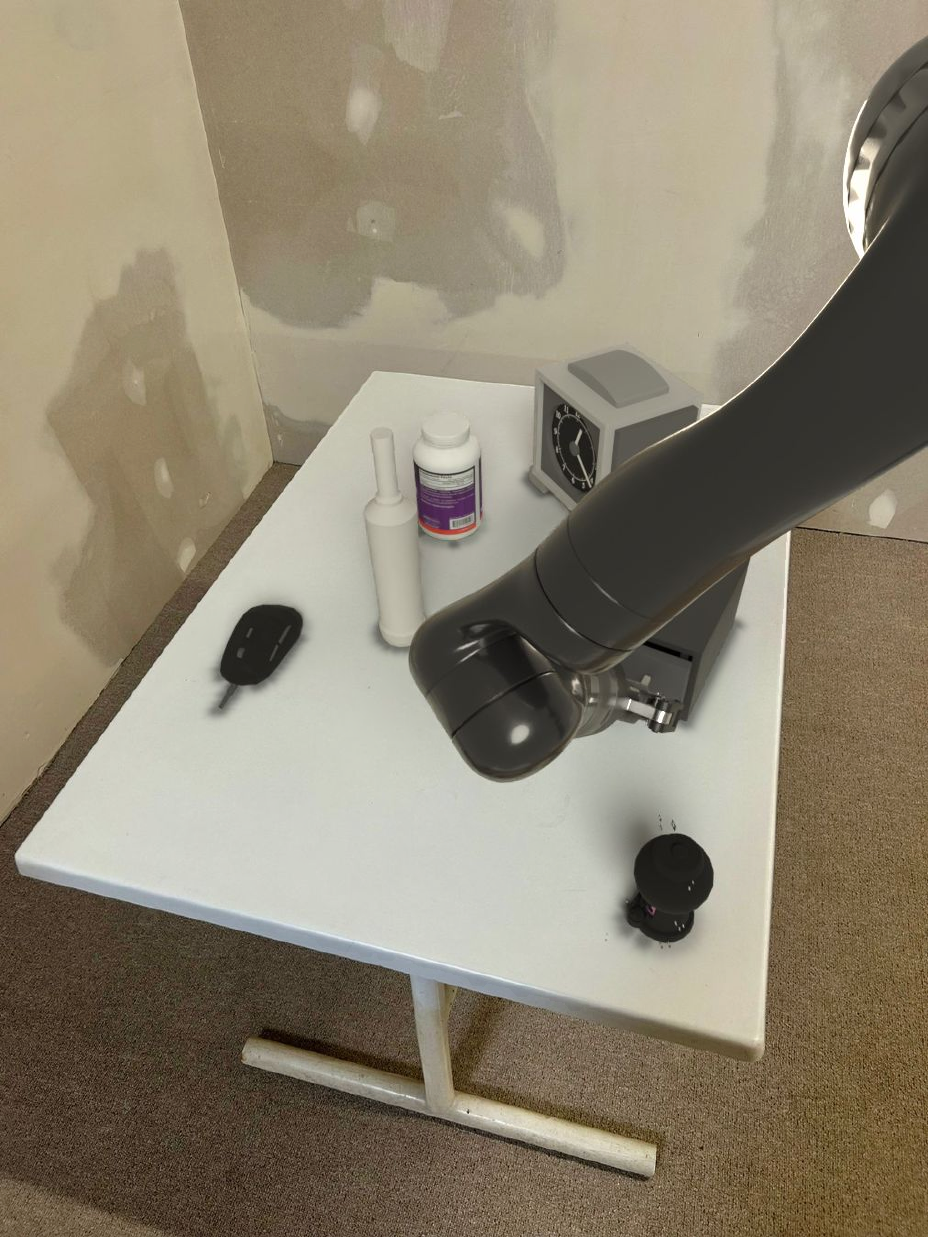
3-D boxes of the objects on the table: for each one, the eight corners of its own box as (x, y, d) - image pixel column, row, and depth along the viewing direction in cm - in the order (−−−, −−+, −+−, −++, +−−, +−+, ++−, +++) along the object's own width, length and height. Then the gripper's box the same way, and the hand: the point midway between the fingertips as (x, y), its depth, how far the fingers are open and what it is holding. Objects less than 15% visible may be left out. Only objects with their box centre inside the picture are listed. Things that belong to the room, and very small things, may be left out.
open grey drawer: (660, 758, 80) (671, 703, 75) (548, 714, 84) (551, 659, 79) (722, 631, 92) (735, 576, 86) (621, 598, 96) (628, 543, 91)
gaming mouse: (193, 701, 88) (184, 675, 85) (263, 607, 98) (256, 580, 95) (248, 716, 87) (239, 689, 84) (313, 618, 97) (307, 591, 94)
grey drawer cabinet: (686, 721, 84) (702, 653, 78) (568, 677, 89) (573, 609, 82) (733, 623, 94) (751, 555, 87) (624, 587, 99) (633, 520, 92)
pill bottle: (438, 498, 112) (432, 399, 102) (493, 515, 109) (493, 414, 99) (406, 533, 107) (396, 432, 97) (463, 551, 104) (459, 449, 94)
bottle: (389, 612, 97) (364, 415, 80) (433, 619, 96) (417, 421, 79) (373, 644, 93) (344, 445, 76) (419, 652, 92) (399, 452, 75)
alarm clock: (525, 476, 115) (528, 347, 103) (608, 449, 119) (620, 322, 107) (602, 552, 103) (616, 417, 91) (691, 519, 107) (716, 386, 95)
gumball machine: (611, 885, 72) (623, 818, 65) (678, 869, 73) (697, 801, 66) (641, 962, 67) (657, 898, 60) (712, 944, 68) (736, 879, 61)
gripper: (676, 673, 61) (701, 676, 76) (497, 609, 66) (553, 624, 81) (640, 772, 61) (672, 756, 76) (465, 701, 66) (527, 699, 82)
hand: (611, 688), depth 79 cm, fingers open, 8 cm apart
